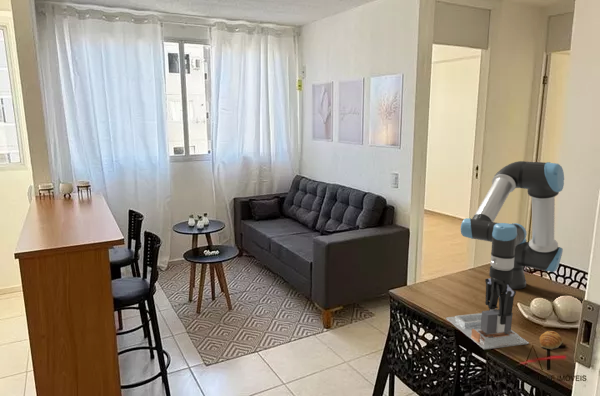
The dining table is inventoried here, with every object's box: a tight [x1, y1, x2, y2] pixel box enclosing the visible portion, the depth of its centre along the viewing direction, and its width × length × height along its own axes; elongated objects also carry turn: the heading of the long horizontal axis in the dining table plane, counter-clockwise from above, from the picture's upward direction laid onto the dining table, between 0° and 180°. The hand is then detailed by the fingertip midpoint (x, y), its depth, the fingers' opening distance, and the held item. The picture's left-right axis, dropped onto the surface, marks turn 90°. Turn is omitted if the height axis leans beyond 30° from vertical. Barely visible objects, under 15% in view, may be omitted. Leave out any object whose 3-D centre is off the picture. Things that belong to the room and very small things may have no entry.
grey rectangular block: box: [480, 309, 514, 334], centre depth 153 cm, size 10×4×7 cm, turn 103°
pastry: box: [539, 330, 564, 350], centre depth 150 cm, size 9×7×4 cm
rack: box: [445, 312, 530, 351], centre depth 160 cm, size 18×24×4 cm
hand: (496, 328), depth 154 cm, fingers closed on grey rectangular block, 3 cm apart
